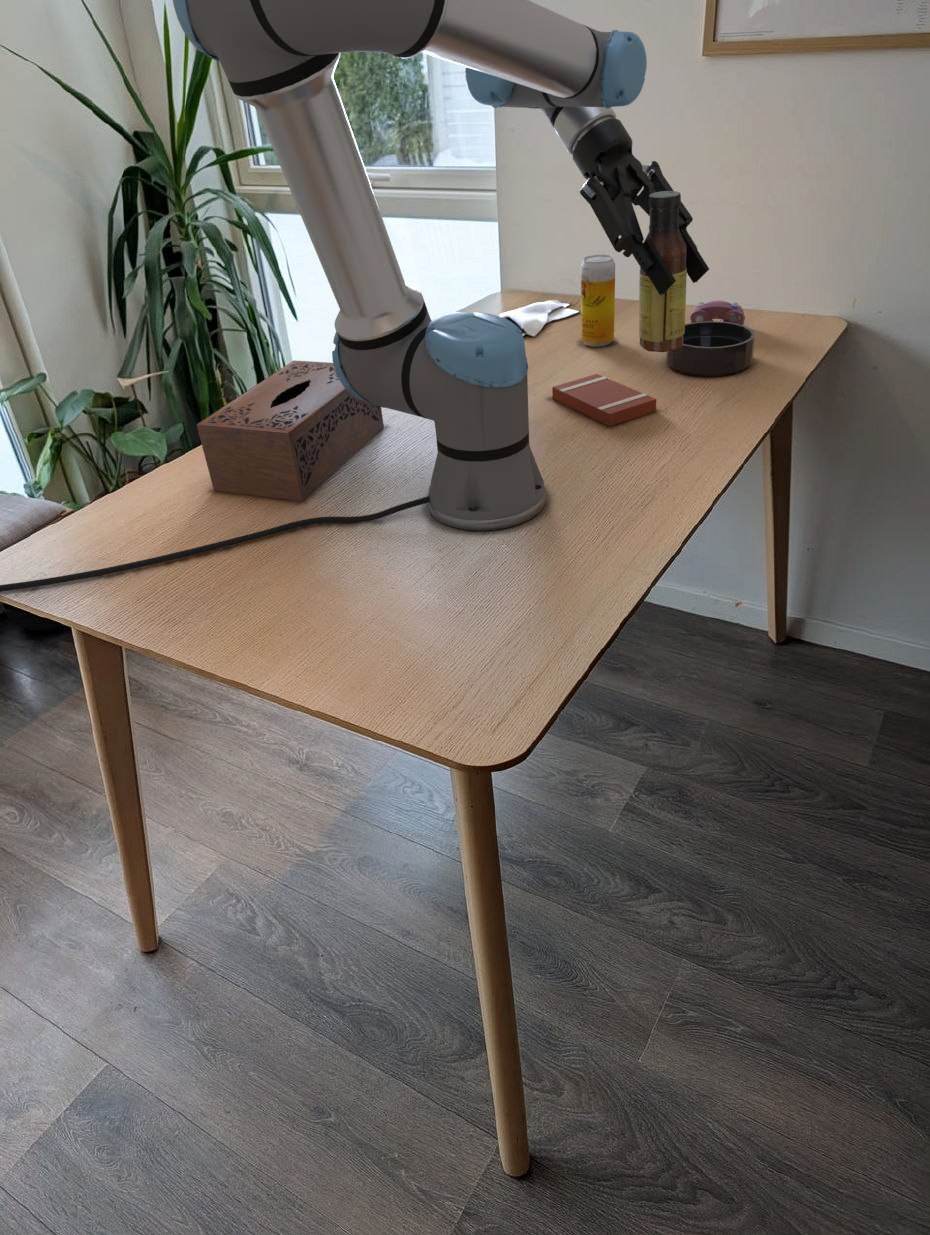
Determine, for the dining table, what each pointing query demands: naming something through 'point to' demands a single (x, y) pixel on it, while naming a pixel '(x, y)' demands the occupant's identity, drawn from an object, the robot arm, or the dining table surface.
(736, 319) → the video game controller
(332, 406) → the tissue box cover
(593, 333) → the beer can
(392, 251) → the robot arm
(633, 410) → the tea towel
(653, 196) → the sauce bottle
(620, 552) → the dining table surface
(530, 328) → the cloth
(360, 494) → the dining table surface
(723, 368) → the pan
